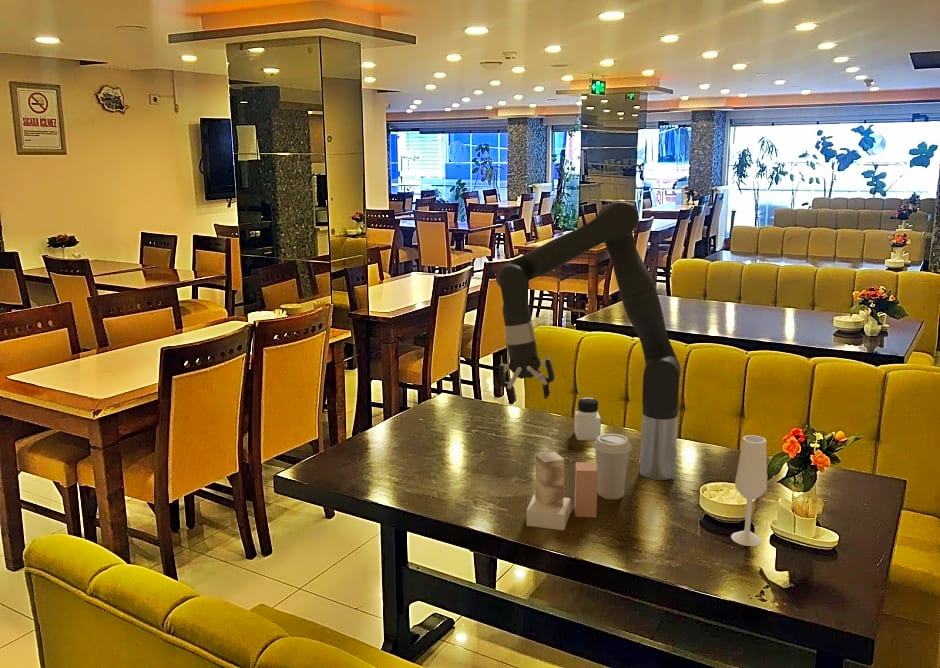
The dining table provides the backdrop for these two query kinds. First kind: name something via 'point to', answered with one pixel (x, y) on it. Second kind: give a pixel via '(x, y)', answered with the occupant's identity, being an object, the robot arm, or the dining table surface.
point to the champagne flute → (751, 482)
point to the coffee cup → (611, 464)
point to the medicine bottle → (587, 420)
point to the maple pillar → (549, 480)
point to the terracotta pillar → (586, 489)
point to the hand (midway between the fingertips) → (530, 399)
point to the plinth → (548, 515)
